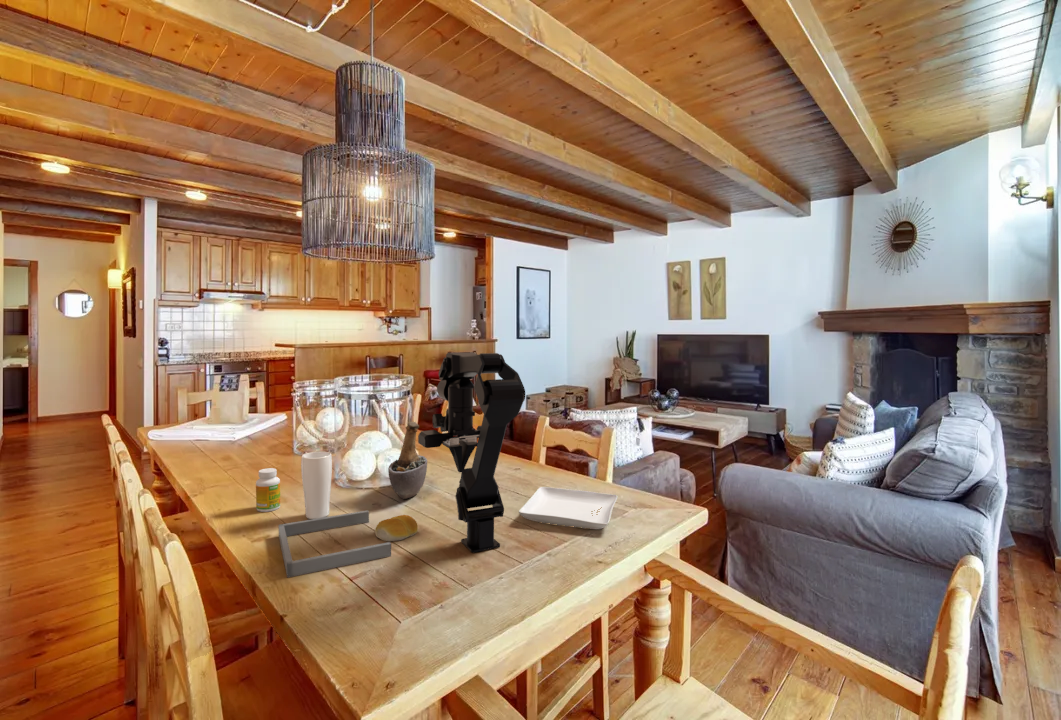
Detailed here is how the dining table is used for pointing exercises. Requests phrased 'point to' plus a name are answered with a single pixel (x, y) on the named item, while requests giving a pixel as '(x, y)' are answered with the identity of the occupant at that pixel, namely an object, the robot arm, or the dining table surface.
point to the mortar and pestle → (408, 466)
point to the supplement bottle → (267, 490)
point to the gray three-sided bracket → (334, 558)
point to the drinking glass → (316, 483)
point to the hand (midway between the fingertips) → (460, 471)
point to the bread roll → (396, 528)
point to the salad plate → (569, 507)
